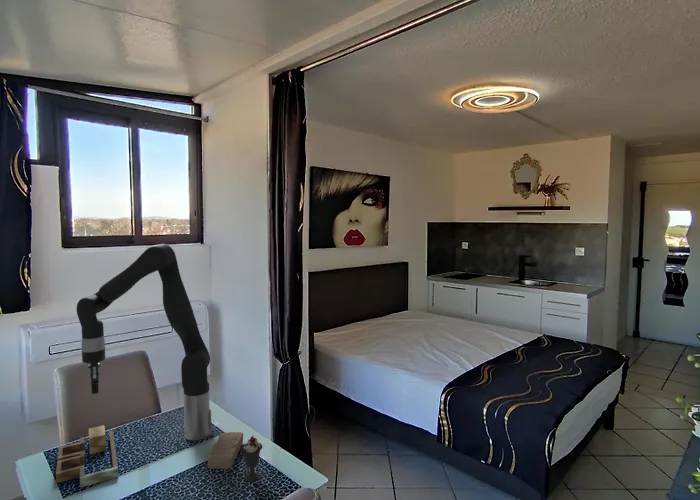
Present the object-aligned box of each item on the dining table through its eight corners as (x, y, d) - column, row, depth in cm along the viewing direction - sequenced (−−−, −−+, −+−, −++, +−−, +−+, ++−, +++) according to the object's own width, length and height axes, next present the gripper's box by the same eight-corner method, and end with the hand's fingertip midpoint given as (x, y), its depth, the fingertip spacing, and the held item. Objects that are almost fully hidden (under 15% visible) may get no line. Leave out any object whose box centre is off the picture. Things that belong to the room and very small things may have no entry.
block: (104, 440, 160) (104, 425, 160) (105, 450, 153) (105, 434, 153) (89, 444, 157) (88, 428, 157) (89, 454, 151) (88, 438, 150)
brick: (231, 469, 143) (231, 456, 142) (206, 469, 143) (206, 455, 142) (243, 443, 159) (243, 431, 159) (221, 443, 159) (221, 431, 159)
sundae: (252, 486, 134) (251, 440, 132) (237, 479, 137) (236, 434, 136) (267, 475, 139) (266, 431, 138) (252, 469, 143) (251, 425, 142)
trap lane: (113, 437, 162) (112, 430, 162) (118, 477, 138) (118, 468, 137) (59, 450, 153) (59, 442, 153) (55, 494, 129) (54, 485, 129)
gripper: (105, 351, 157) (107, 397, 158) (104, 342, 168) (105, 385, 170) (81, 354, 153) (83, 401, 154) (81, 345, 164) (83, 388, 166)
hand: (95, 392), depth 162 cm, fingers closed
